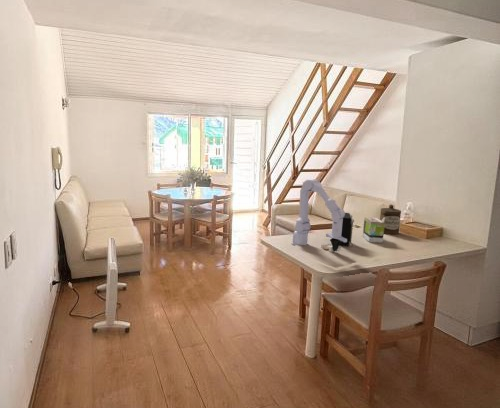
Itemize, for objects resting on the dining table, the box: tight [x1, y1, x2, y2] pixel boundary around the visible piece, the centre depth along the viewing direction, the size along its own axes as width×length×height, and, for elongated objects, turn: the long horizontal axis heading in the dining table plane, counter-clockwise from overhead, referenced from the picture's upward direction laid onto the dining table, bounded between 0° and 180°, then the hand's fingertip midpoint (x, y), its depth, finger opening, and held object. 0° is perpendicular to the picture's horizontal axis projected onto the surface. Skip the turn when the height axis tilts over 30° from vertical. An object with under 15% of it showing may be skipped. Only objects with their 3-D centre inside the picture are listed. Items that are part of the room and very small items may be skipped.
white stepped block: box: [327, 246, 334, 253], centre depth 214 cm, size 4×3×3 cm
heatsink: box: [320, 243, 342, 251], centre depth 219 cm, size 11×13×3 cm
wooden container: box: [379, 204, 402, 236], centre depth 270 cm, size 15×15×22 cm
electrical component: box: [339, 212, 355, 247], centre depth 232 cm, size 18×10×20 cm, turn 168°
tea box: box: [362, 217, 385, 243], centre depth 248 cm, size 15×10×15 cm
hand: (334, 250), depth 211 cm, fingers closed
